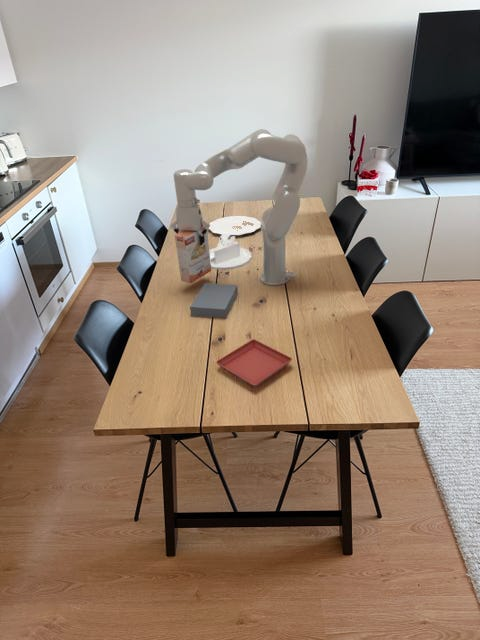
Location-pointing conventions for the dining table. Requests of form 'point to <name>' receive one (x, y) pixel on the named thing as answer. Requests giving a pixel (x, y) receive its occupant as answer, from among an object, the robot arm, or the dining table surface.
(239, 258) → the dish
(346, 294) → the dining table surface
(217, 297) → the base block
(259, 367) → the plant saucer
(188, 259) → the cracker box
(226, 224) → the plate
